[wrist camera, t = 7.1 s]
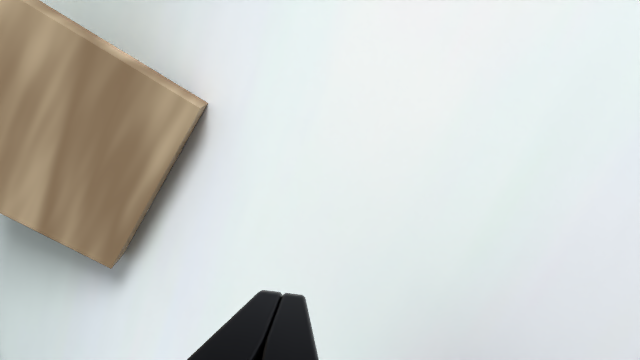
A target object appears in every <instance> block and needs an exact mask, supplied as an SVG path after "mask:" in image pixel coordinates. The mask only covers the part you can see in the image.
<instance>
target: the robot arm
mask: <svg viewBox="0 0 640 360" xmlns="http://www.w3.org/2000/svg"><path fill="white" fill-rule="evenodd" d="M187 360H319V359H318V355H317V350H316V345H315V341H314V336H313V332H312V327H311V322H310V318H309V313H308V308H307V304H306V299H305V297H304V296H303V295H298V294H290V293H285V294H284V295H283V296H282V294H281V293H280V292H274V291H266V290H262V291H260V292H258V293H257V294H256V295H255V296H254V297H253V298H252V299H251V300H250V301H249V302H248V303H247V304H246V305H245V306H244V307H242V308H241V309H240V310H239V311H238V312H237V313H236V314H235V315H234V316H233V317H232V318H231V319H230V320H229V321H228V322H227V323H225V324H224V325H223V326H222V327H221V328H220V329H219V330H218V331H217V332H216V333H215V334H214V335H213V336H212V337H211V338H210V339H208V340H207V341H206V342H205V343H204V344H203V345H202V346H201V347H200V348H199V349H198V350H197V351H196V352H195V353H194V354H193V355H191V356H190V357H189V358H188V359H187Z"/></svg>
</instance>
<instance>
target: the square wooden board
mask: <svg viewBox="0 0 640 360" xmlns="http://www.w3.org/2000/svg"><path fill="white" fill-rule="evenodd" d="M207 104H208V103H207V102H205V101H203V100H202V99H200V98H199V97H197V96H195V95H194V94H192V93H190V92H189V91H187V90H185V89H184V88H182V87H180V86H179V85H177V84H176V83H174V82H172V81H171V80H169V79H167V78H166V77H164V76H162V75H161V74H159V73H158V72H156V71H154V70H153V69H151V68H149V67H148V66H146V65H144V64H143V63H141V62H139V61H138V60H136V59H135V58H133V57H131V56H130V55H128V54H126V53H125V52H123V51H121V50H120V49H118V48H116V47H115V46H113V45H112V44H110V43H108V42H107V41H105V40H103V39H102V38H100V37H98V36H97V35H95V34H93V33H92V32H90V31H89V30H87V29H85V28H84V27H82V26H80V25H79V24H77V23H75V22H74V21H72V20H71V19H69V18H67V17H66V16H64V15H62V14H61V13H59V12H57V11H56V10H54V9H52V8H51V7H49V6H48V5H46V4H44V3H43V2H41V1H39V0H0V213H1V214H3V215H5V216H7V217H9V218H11V219H13V220H15V221H17V222H19V223H21V224H23V225H25V226H27V227H29V228H31V229H33V230H35V231H37V232H39V233H41V234H43V235H45V236H47V237H49V238H51V239H53V240H55V241H57V242H59V243H61V244H63V245H65V246H67V247H69V248H71V249H73V250H75V251H77V252H79V253H81V254H83V255H85V256H87V257H89V258H91V259H93V260H95V261H97V262H99V263H101V264H103V265H105V266H107V267H109V268H112V267H113V266H114V265H115V264H116V262H117V261H118V260H119V259H120V258H121V256H122V255H123V254H124V252H125V250H126V249H127V247H128V245H129V243H130V242H131V240H132V238H133V236H134V234H135V233H136V231H137V229H138V227H139V225H140V224H141V222H142V220H143V218H144V217H145V215H146V213H147V211H148V209H149V208H150V206H151V204H152V202H153V200H154V199H155V197H156V195H157V193H158V192H159V190H160V188H161V186H162V184H163V183H164V181H165V179H166V177H167V175H168V174H169V172H170V170H171V168H172V167H173V165H174V163H175V161H176V159H177V158H178V156H179V154H180V152H181V150H182V149H183V147H184V145H185V143H186V142H187V140H188V138H189V136H190V134H191V133H192V131H193V129H194V127H195V126H196V124H197V122H198V120H199V118H200V117H201V115H202V113H203V111H204V109H205V108H206V106H207Z"/></svg>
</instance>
